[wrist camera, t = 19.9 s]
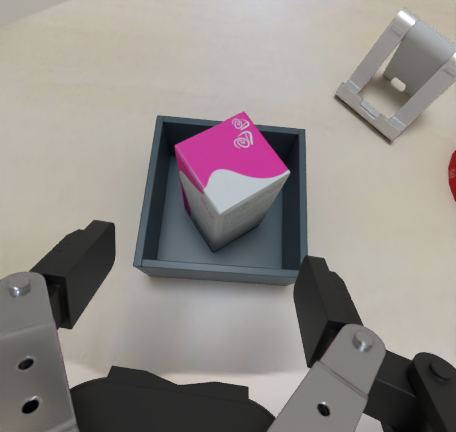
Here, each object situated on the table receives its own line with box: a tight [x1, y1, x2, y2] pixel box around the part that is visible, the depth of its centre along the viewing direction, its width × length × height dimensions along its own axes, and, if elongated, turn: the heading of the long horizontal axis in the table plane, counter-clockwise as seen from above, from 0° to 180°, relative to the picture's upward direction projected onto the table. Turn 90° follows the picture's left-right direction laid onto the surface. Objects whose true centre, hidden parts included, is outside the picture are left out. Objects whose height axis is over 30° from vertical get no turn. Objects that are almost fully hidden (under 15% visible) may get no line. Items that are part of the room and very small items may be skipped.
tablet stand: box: [335, 8, 456, 141], centre depth 32 cm, size 9×8×8 cm
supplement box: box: [175, 112, 290, 252], centre depth 25 cm, size 6×6×12 cm
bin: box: [133, 115, 308, 285], centre depth 28 cm, size 13×13×6 cm
